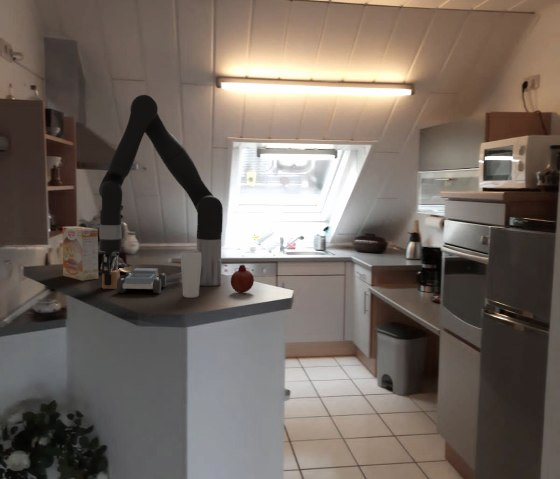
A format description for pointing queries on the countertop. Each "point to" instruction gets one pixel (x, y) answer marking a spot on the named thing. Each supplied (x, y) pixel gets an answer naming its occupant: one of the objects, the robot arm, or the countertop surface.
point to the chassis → (142, 280)
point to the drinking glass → (191, 273)
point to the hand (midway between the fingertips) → (110, 283)
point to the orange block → (112, 280)
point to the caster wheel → (121, 264)
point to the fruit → (242, 280)
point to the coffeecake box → (80, 253)
